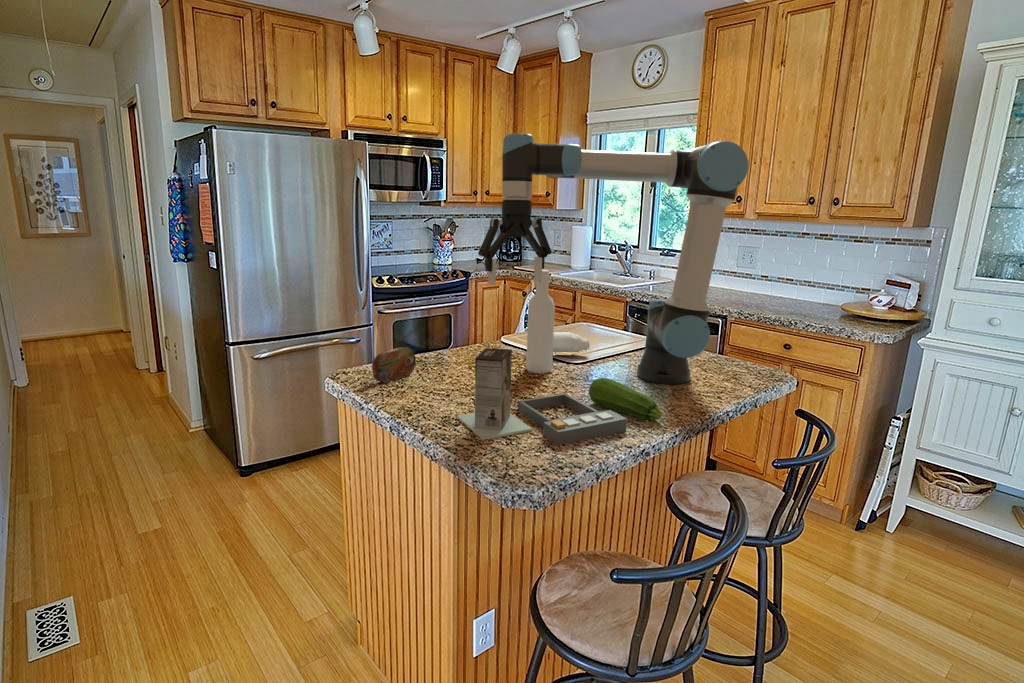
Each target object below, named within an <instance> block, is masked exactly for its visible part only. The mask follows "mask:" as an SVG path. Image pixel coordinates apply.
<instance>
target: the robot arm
mask: <svg viewBox="0 0 1024 683" xmlns="http://www.w3.org/2000/svg"><path fill="white" fill-rule="evenodd" d="M501 160H502V164H501V165H502V166H501V167H502V169H501V170H502V179H501V180H502V182H501V183H502V184H501V185H502V186H501V188H502V189H501V193H502V194H501V197H502V198H503V199H502V201H501V215H502V216H501V219H499V218H490V222H489V228H488V230H487V233H486V234H485V237H484V240H483V241H482V244H481V245H480V248H479V249H478V252H477V253H478V256H480V257H483V258H485V263H484V264H485V269H484V270H485V271H486V272H487V273H488V274H487V276H488V277H487V279H488V280H487V281H488V282H487V283H488V285H492V286H496V284H497V283H496V281H497V280H496V279H497V274H496V273H497V267H496V266H497V260H496V258H494V257H495V256H496V254H497V253H498V252H499V250H500V249H501V248H502V246H503V245H504V244H505V242H506V241H507V240H508V239H509V238H510V237H511V238H517V237H518V238H521V237H522V238H524V239H525V240H526V241H527V242H528V245H529V246H530V247H531V248H532V250H533V252H534V253H535V255H537V256H534V259H533V260H534V261H533V262H534V264H533V265H534V267H533V282H535V283H536V282H541V280H542V270H545V259H546V258H547V257H548V255H552V249H551V246H550V244H549V240H548V239H547V237H546V234H545V230H544V229H543V222H542V219H541V218H533V219H532V217H531V216H532V210H533V208H532V206H533V202H532V200H530V199H532V197H533V175H534V176H535V175H536V176H546V177H547V178H549V179H560V178H561V179H583V180H603V181H621V182H622V181H623V182H624V181H625V182H641V183H642V182H647V183H664V184H665V185H667V187H669V188H682V189H686V197H687V199H688V200H689V202H690V205H689V206H690V207H689V212H688V216H687V221H686V224H685V225H686V226H685V230H684V235H683V240H682V246H681V251H680V255H679V260H678V264H677V267H676V268H677V270H676V274H675V279H674V283H673V289H672V294H671V296H670V297H668V298H666V299H659V298H657V299H651V300H650V301H649V304H648V308H647V320H646V322H647V323H646V333H645V334H646V336H645V347H644V351H643V354H642V357H641V360H640V363H639V364H638V365H637V371H636V376H637V377H638V376H639V377H638V378H640V379H642V380H644V381H647V382H650V381H651V383H656V384H660V385H661V384H663V385H680V384H685V382H686V383H688V382H689V381H690V380H691V370H690V368H689V362H688V358H689V359H690V358H695V357H696V356H698V355H699V354H701V353H702V352H704V350H705V349H706V348H707V347H708V344H709V342H710V339H711V332H710V327H709V325H708V321H709V317H710V316H709V315H710V311H711V307H709V305H708V303H707V301H706V300H707V297H708V292H709V287H710V283H711V279H712V274H713V269H714V266H715V261H716V255H717V251H718V247H719V242H720V238H721V234H722V229H723V225H724V219H725V215H726V210H727V208H728V207H729V206H730V205H731V204H733V203H734V202H735V201H736V200H735V199H736V196H737V191H738V187H739V186H740V185H741V184H742V183H743V182H744V180H745V179H746V177H747V175H748V173H749V172H748V171H749V159H748V156H747V153H746V152H745V151H744V149H743V148H742V147H741V146H740V145H739V144H737V142H733V141H730V140H715V141H712V142H710V143H707V144H705V145H701V146H698V147H695V148H689V149H672V150H670V151H669V153H667V152H666V153H663V152H640V151H619V150H617V151H616V150H599V149H598V150H597V149H596V150H595V149H594V150H593V149H591V150H590V149H582V147H581V145H579V144H577V143H575V144H573V143H567V142H566V143H537V142H535V141H534V136H533V135H532V134H530V133H508V134H506V135H505V136H504V137H503V142H502V159H501ZM500 227H502V230H501V231H500V232H499V235H498V237H497V238H496V239H495V237H496V235H497V233H498V230H499V228H500ZM531 227H532V228H533V230H534V234H535V236H536V238H537V239H536V238H535V237H534V234H533V232H532V231H531V229H530V228H531ZM494 239H495V241H494Z"/></svg>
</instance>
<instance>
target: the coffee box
mask: <svg viewBox="0 0 1024 683" xmlns="http://www.w3.org/2000/svg"><path fill="white" fill-rule="evenodd" d="M512 352H513V350H512V349H506V348H504V349H503V348H493V347H491V348H490V347H485V348H484V349H483V350H482V351H481V352H480V353H479V354H478V355H476V357H475V359H474V360H475V361H474V362H475V365H474V370H475V371H474V413H475V427H476V428H485V429H495V430H502V429H503V427H504V425H505V424H506V422H507V420H508V418H509V417H510V413H511V402H512V401H511V400H512V398H511V396H512V394H511V393H512V391H511V389H512Z"/></svg>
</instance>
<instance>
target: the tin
mask: <svg viewBox="0 0 1024 683" xmlns="http://www.w3.org/2000/svg"><path fill="white" fill-rule="evenodd" d="M416 360H417V358H416V355H415V352H414V350H412V348H410V347H404V346H403V347H401V346H399V347H397V348H393V349H389V350H387V351H383V352H381V353H378V354H377V355H376V356H375V358H374V359H373V361H372V365H371V366H372V368H371V369H372V370H371V371H372V375H373V378H374V379H375V380H376V381H378V382H381V383H385V384H390V383H392V382H391V381H393V382H395V381H398V380H400V379H403V377H404V378H406V377H409V376H410V375H411V374H412V373H413V371H414V369H415V366H416ZM394 380H395V381H394ZM389 382H390V383H389Z"/></svg>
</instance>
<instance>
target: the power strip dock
mask: <svg viewBox="0 0 1024 683" xmlns="http://www.w3.org/2000/svg"><path fill="white" fill-rule="evenodd" d="M561 405H565V406H566V407H568V408H570V409H572V410H573V411H574V412H575V411H576V412H577V413H578V414H577V415H571V416H566V417H565V416H564V417H560V418H559V417H558V418H556V419H551V418H549V417H548V416H546V415H545V414H543V413H541V412H540V411H538V409H544V408H550V407H556V406H561ZM517 412H519V413H520V414H522V415H524V416H525V417H526V418H527V419H529V420H531V421H532V422H533V423H535V424H537V425H538V426H540V427H542V428H543V430H542V435H543V436H544V437H545V438H546V439H548V440H549V441H550V442H552V443H553V444H555V445H557V446H558V445H559V446H563V444H564V445H567V444H568V443H569V444H573V443H577V441H578V442H582V440H583V441H588V440H591V439H597V438H602V437H605V436H611V435H614V434H615V433H616V434H619V433H625V432H627V426H628V418H627V417H625V416H622V415H621V414H619V413H617V412H616V411H613V410H610V409H606V410H602V411H599V410H597V409H595V408H593V407H591V406H589V405H587V404H586V403H584V402H583V401H580V400H579V399H577V398H575V397H573V396H571V395H569V394H567V393H565V392H564V393H559V394H554V395H553V394H552V395H547V396H540V397H534V398H528V399H522V400H517ZM624 431H625V432H624ZM587 439H588V440H587Z"/></svg>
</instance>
